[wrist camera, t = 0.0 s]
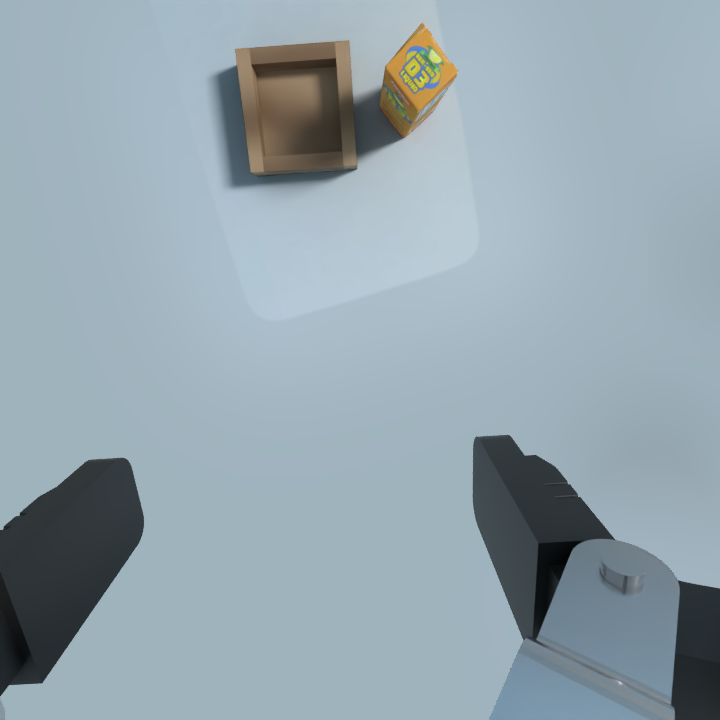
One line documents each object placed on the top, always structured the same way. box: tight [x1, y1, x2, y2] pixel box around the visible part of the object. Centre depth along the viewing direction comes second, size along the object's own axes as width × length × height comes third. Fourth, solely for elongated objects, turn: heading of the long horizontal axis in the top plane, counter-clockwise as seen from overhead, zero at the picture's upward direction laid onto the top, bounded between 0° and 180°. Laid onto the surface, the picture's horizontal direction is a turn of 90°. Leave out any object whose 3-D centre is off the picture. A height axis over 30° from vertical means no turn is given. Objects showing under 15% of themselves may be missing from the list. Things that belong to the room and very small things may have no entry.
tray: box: [235, 41, 357, 176], centre depth 33 cm, size 8×8×2 cm
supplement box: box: [379, 23, 458, 138], centre depth 29 cm, size 3×3×10 cm
